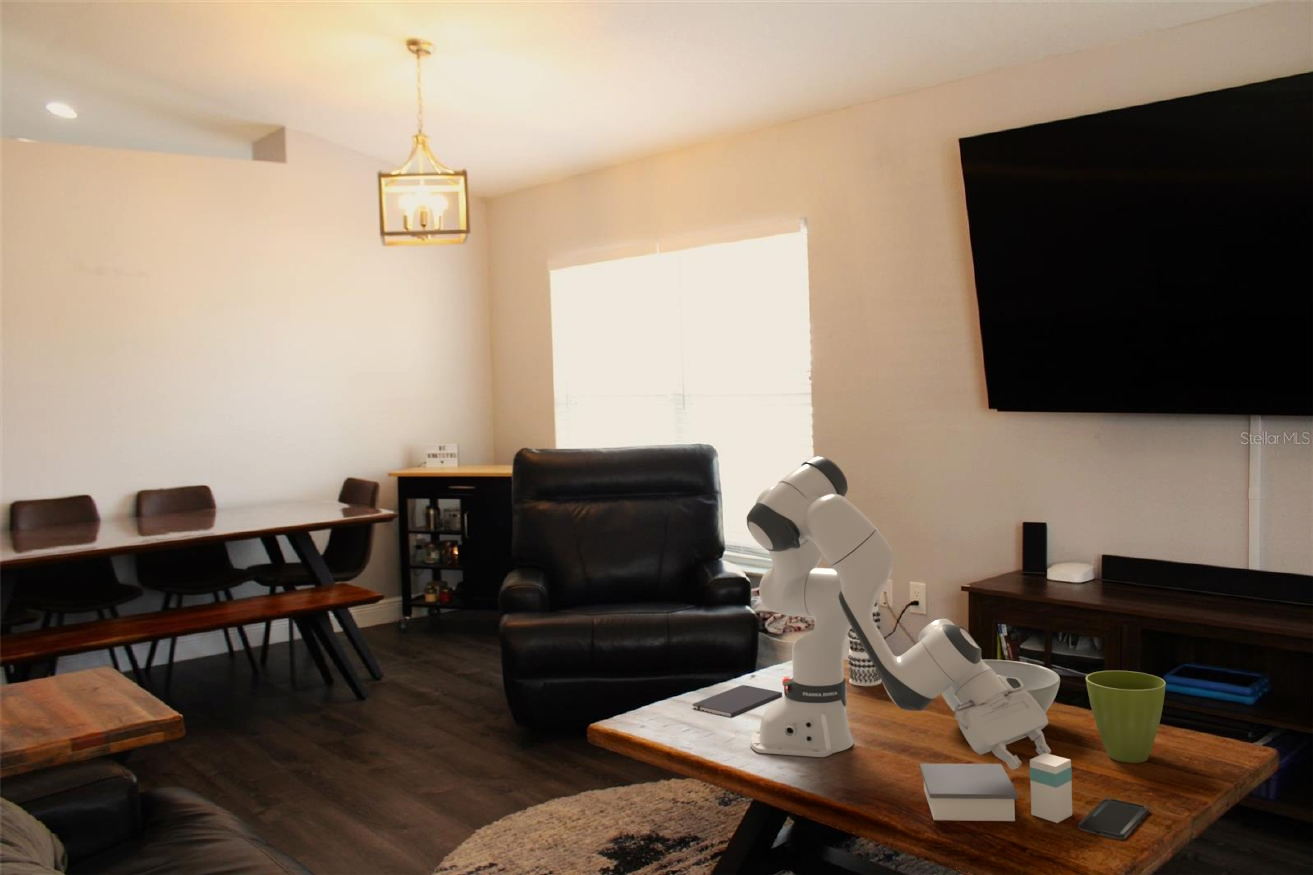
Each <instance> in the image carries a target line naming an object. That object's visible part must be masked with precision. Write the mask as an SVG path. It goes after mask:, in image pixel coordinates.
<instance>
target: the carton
mask: <svg viewBox="0 0 1313 875" xmlns="http://www.w3.org/2000/svg"><path fill="white" fill-rule="evenodd" d="M1071 762H1072V760H1071V759H1069V758H1066V757H1062V756H1057V755H1054V754H1051V753H1049V754H1047V753H1044V754H1042V755H1039V754H1038V755H1037V756H1035V757H1033V758H1031V759H1029V781H1030V808H1031V809H1030V810H1031V813H1030V814H1031V816H1035V817H1038V818H1041V819H1044V820H1047V821H1049V822H1053V823H1056V824H1059V823H1060V822H1062V821H1064V820H1066V819H1068V818H1069V817H1071V816H1072V815H1073V796H1072V795H1073V792H1072V791H1073V789H1072V788H1073V787H1072V780H1073V777H1072V775H1073V774H1072V773H1073V772H1072V763H1071Z"/></svg>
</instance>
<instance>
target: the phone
mask: <svg viewBox="0 0 1313 875" xmlns="http://www.w3.org/2000/svg"><path fill="white" fill-rule="evenodd" d="M1148 813H1149V814H1150V808H1149V807H1148V806H1145V805H1141V804H1137V803H1132V802H1127V801H1123V800H1117V799H1115V798H1114V799H1113V798H1103V799H1102V800H1101V801H1100V802H1099V803H1098V804H1097V805H1096V806H1095V807H1094V808H1093V809H1092V810H1091V811H1090V812H1089V813H1088V814H1086V816H1084V817H1083V818H1082V819H1081V820H1080V821H1078V829H1079V830H1080V831H1082V832H1086V833H1089V834H1090V833H1091V834H1094V835H1099V836H1103V837H1108V838H1111V839H1116V840H1126V838H1127V837H1128V836H1130V835H1131V833H1132V832H1133V831H1134V830H1135V829H1136V828H1137V827H1138V826H1137V825H1138V824H1139V825H1140V823H1142V821H1143V820H1144V819H1145V818H1146V817H1147V816H1148V815H1149V814H1148ZM1146 815H1147V816H1146ZM1145 816H1146V817H1145ZM1142 819H1143V820H1142ZM1141 820H1142V821H1141ZM1136 826H1137V827H1136ZM1135 827H1136V828H1135ZM1134 828H1135V829H1134ZM1133 829H1134V830H1133ZM1132 830H1133V831H1132Z"/></svg>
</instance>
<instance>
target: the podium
mask: <svg viewBox="0 0 1313 875" xmlns="http://www.w3.org/2000/svg"><path fill="white" fill-rule="evenodd" d="M919 769H920V773H921V775H922V778H923V791H924V794H925V797H926V800H927V803H928V806H929V809H930V813H931V816H932V818H933V821H968V822H969V821H972V822H973V821H974V822H975V821H976V822H977V821H978V822H979V821H980V822H981V821H983V822H987V821H988V822H989V821H990V822H992V821H993V822H994V821H995V822H1016V818H1015V817H1016V815H1015V814H1016V811H1015V809H1016V808H1015V800H1019V794H1018V792H1017V790H1016V788H1015V786H1014V785H1013V783H1012V781H1011V779H1010V777H1009V775H1008V774H1007V772H1006V770H1005V768H1004V766H1003V765H1002V763H919Z"/></svg>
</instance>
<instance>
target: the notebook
mask: <svg viewBox="0 0 1313 875" xmlns="http://www.w3.org/2000/svg"><path fill="white" fill-rule="evenodd" d="M780 697H781V698H782V697H783V692H782V691H777V690H771V689H766V688H761V687H758V686H757V687H756V686H752V685H745V684H742V685H738V686H736V687H734V688H731V689H728V690H725V691H723V692H720V693H718V694H714V695H713V696H709V697H707V698H705V699H702V700H699V701H697V702H694V703H692V706H693V709H694V708H696V709H695V710H697V709H698V710H697V711H702V710H704V711H703V712H706V711H708V712H707V713H711V712H712V713H711V714H716V715H720V714H722V715H721V716H724V715H726V716H725V717H730V718H733V717H736V716H738V715H740V714H743V713H745V712H747V711H750V710H752V709H755V708H758V707H760V706H762V705H764V704H766V703H769V702H772V701H774V700H776V699H779V698H780Z"/></svg>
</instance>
